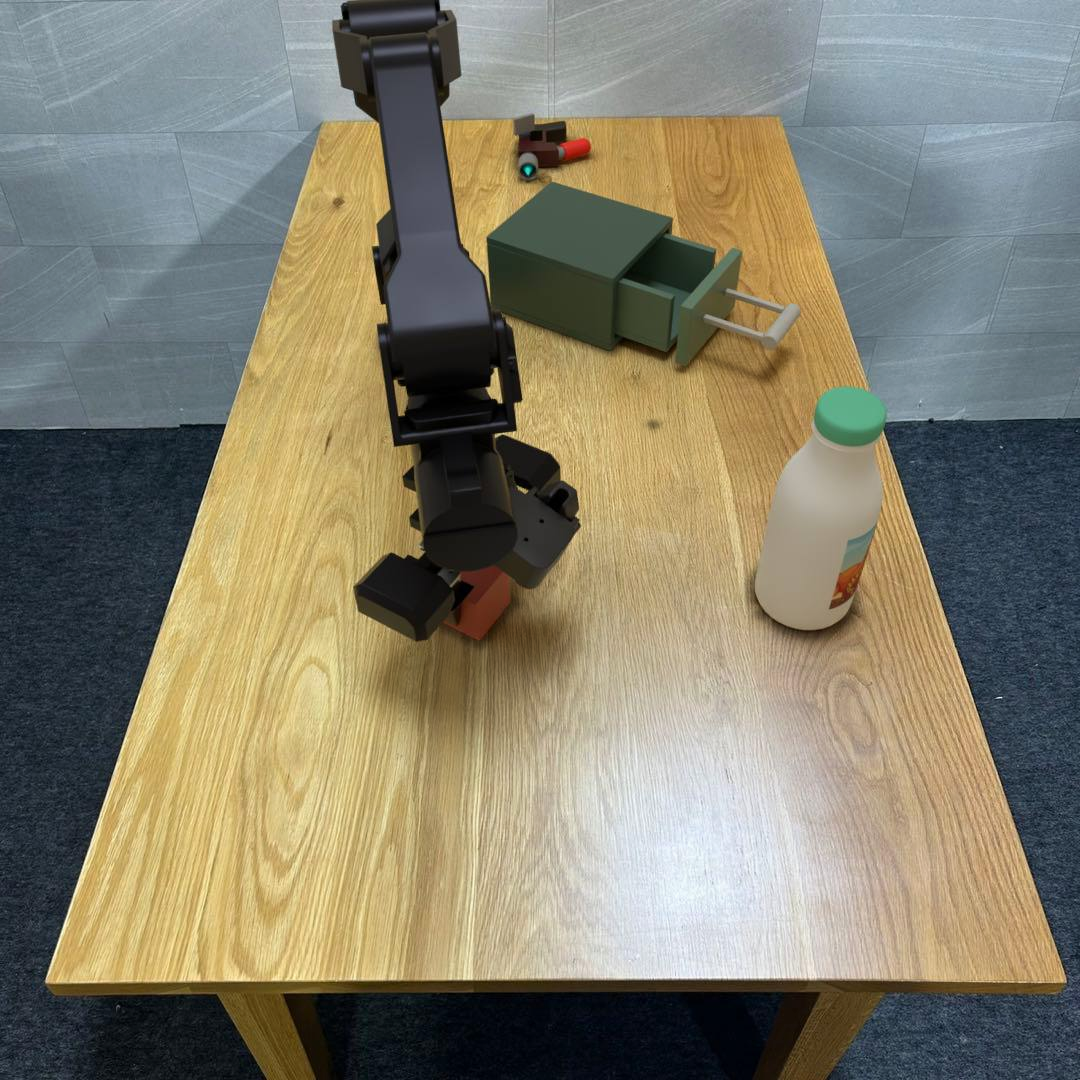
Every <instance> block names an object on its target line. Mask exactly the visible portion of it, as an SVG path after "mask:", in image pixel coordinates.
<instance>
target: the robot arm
mask: <svg viewBox="0 0 1080 1080" xmlns="http://www.w3.org/2000/svg"><path fill="white" fill-rule="evenodd" d="M440 1H441V0H347V1H346V2H342V4H341V5H340V11H341V18H339V19H332V20H331V26H332V27H331V28H332V29H331V30H332V37H333V43H334V50H335V56H336V62H337V68H338V75H339V81H340V87H341V88H342V89H346V90H349V91H351V92H352V95H353V100H354V105H355V106H356V107H357V108H358V109H359V110H361V111H362V112H363V113H364V114H366V115H367V116H368V117H369V118H371V119H372V120H374V121H375V122H376V123H378V128H379V135H380V142H381V151H382V157H383V164H384V171H385V172H384V173H385V179H386V184H387V193H388V200H389V207H390V208H389V209H388V211H387V212H386V213H385V214H383V216H382V217H381V218H380V219H379V220H378V222H377V223H375V226H376V233H377V239H378V245H372V246H371V251H372V259H373V267H374V272H375V279H376V285H377V291H378V297H379V301H380V305H381V306H382V305H384V306H385V311H386V313H385V314H386V319H387V322H379V323H376V332H377V340H378V346H379V354H380V360H381V367H382V374H383V375H382V376H383V381H384V388H385V395H386V402H387V407H388V416H389V422H390V428H391V437H392V442H393V447H394V448H397V447H405V446H410V451H411V458H412V466H411V467H410V468H409V469H408V470H407V471H405V473H404V474H403V475H402V477H401V478H402V485H403V488H405V489H408V490H410V491H412V492H414V493H416V501H417V508H416V509H415V510H414V511H413V512H412V513H411V515H409V516H408V520H409V521H408V522H409V527H410V528H412V529H415V530H416V531H418V532H421V539H422V540H421V541H420V542H419V544H418V547H419V550H421V551H422V552H424V553H422V554H421V556H419V558H417V557H415V556H413V555H410V554H407V555H406V556H405V557H402V556H400V555H397V554H396V553H394V552H391V551H390V552H388V553H385V554H383V555H382V556H381V557H380V558H379V559H378V560H376V562H375V563H374V564H373V565H372V566H371V568H370V569H369V570H368V571H366V573H365V574H363V575H362V577H361V578H360V579H359V580H357V582H356V583H355V584H354V585H353V586H352V588H353V594H354V599H355V604H356V607H357V611H358V613H360V614H362V615H363V616H366V617H368V618H370V619H372V620H373V621H376V622H378V623H379V624H381V625H382V626H385V627H387V628H389V629H391V630H393V631H394V632H396V633H398V634H400V635H402V636H405V637H406V638H408V639H410V640H412V641H414V642H416V643H418V642H422V641H427V640H429V639H430V638H431V636H432V635H433V634H434V633H435V632H436V631H437V629H438V628H439V627H440V626H441V625H442V624H443V623H442V622H443V621H444V620H445V621H446V622H448V623H450V624H452V625H454V626H458V625H459V624H460V618H461V603H462V602H463V601H464V600H465V598H466V597H467V596H468V595H469V594H470V592H471V591H472V590H473V589H474V588H475V587H474V586H473V585H471V584H468V583H466V582H464V581H462V580H460V576H461V572H470V571H477V570H481V569H485V568H488V567H491V566H493V565H495V566H496V567H498V568H499V569H500V570H502V571H503V572H504V573H506V574H507V575H508V576H509V578H511V579H512V580H514V583H515V584H517V585H518V586H520V587H521V588H523V589H526V590H535V589H537V588H538V587H539V586H540V585H541V584H542V583H543V581H544V580H545V578H546V577H547V576H548V574H549V573H550V572H551V570H552V569H554V567H555V566H556V565H557V563H558V562H559V561H560V560H561V559H562V556H563V555H564V553H565V551H566V549H567V548H568V547H569V545H570V543H571V542H572V540H573V538H574V537H575V535H576V534H577V533H578V531H579V530H580V529H581V527H582V526H581V523H580V518H578V517H577V514H578V512H579V510H580V504H579V496H578V490H577V489H576V488H574V486H572V485H570V484H569V483H568V482H567V481H565V480H562V479H561V477H562V476H561V474H562V473H561V465H560V463H559V462H558V460H557V458H555V456H554V455H553V454H552V453H550V452H548V451H545V450H543V449H542V448H538V447H536V446H534V445H531V444H528V443H526V442H523V441H521V440H519V439H516V438H514V437H512V436H509V435H506V434H505V433H507V434H508V433H514V432H517V431H518V425H517V418H516V409H515V404H519V403H522V402H523V400H524V399H523V392H522V384H521V379H520V371H519V362H518V356H517V348H516V343H515V334H514V329H513V327H512V326H511V325H510V324H509V323H508V322H507V319H506V318H507V317H506V316H503V312H501V310H500V309H498V310H495V309H492V308H491V301H490V293H489V289H488V282H487V277H486V275H485V273H484V272H483V270H482V269H481V268H480V267H479V266H478V265H477V264H476V263H475V261H473V259H472V258H471V257H470V251H469V250H468V249H466V247H465V246H464V243H462V240H461V236H460V229H459V223H458V216H457V215H458V214H457V209H456V202H455V196H454V189H453V182H452V177H451V169H450V163H449V156H448V149H447V142H446V136H445V128H444V121H443V115H442V110H441V107H442V106H443V105H444V104H445V103H446V101H447V100H448V99H449V97H450V91H451V90H450V89H451V87H450V85H451V83H452V82H454V81H456V80H458V79H459V78H461V77H462V65H461V64H462V63H461V53H460V43H459V32H458V22H457V21H458V19H457V17H456V16H455V13H454V12H453V10H452V9H446V10H445V9H441V2H440ZM495 369H497V376H498V382H499V383H498V384H499V388H500V393H501V394H500V396H501V402H499V401H498V399H497V398H492V396H490V394H489V392H488V390H487V388H490V387H491V386H492V376H493V375H494V373H495ZM395 381H396V384H397V385H398V386H399V387H401V388H404V387H405V392H406V397H407V401H406V406H405V410H404V413H403V414H404V415H403V414H402V415H399V409H398V402H397V394H396V386H395ZM498 434H500V435H498ZM496 435H498V436H496ZM519 488H521V489H524V490H526V491H527V492H526V493H525V492H523V491H522V490H520V489H519Z"/></svg>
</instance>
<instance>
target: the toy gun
mask: <svg viewBox="0 0 1080 1080" xmlns="http://www.w3.org/2000/svg"><path fill="white" fill-rule="evenodd" d="M535 117H536V116H535V113H533V112H532V113H528V114H524V115H523V114H522V115H520V116H517V117H513V118H512V125H513V135H514V136H515V137H518V162H517V173H518V176H519V177H520V178H521V179H522V180H524V181H533V180H534V179H536V178H537V177H538V175H539V168H540V167H560V160H562V161H564V162H565V161H570V160H573V159H577V158H581V157H584V156H587V155H589V154H590V152H591V150H592V144H591V142H590V140H589V139H588V138H586V137H582V138H578V139H573V140H570V141H566V140H567V136H568V135H567V131H568V130H567V129H568V128H567V122H566V121H565V120H559V121H553V122H546V123H535V122H536V120H535ZM557 143H560V144H559V146H557Z"/></svg>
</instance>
